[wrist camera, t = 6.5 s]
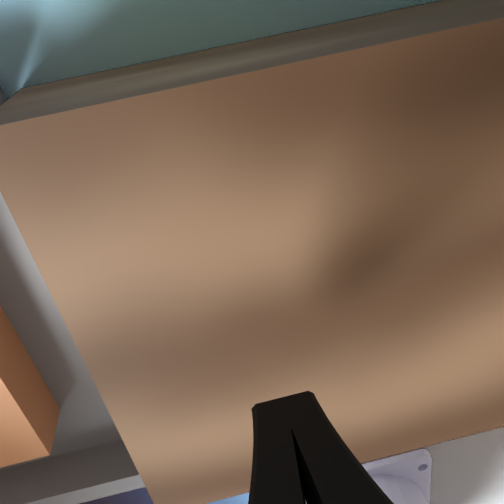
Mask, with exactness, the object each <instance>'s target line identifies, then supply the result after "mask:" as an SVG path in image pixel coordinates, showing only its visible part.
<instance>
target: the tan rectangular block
mask: <svg viewBox="0 0 504 504" xmlns="http://www.w3.org/2000/svg"><path fill="white" fill-rule="evenodd" d="M59 414H60V408H59V406H58V405H57V403H56V401H55V399H54V398H53V396H52V394H51V392H50V391H49V389H48V387H47V385H46V384H45V382H44V380H43V379H42V377H41V375H40V373H39V372H38V370H37V368H36V366H35V365H34V363H33V361H32V359H31V358H30V356H29V354H28V353H27V351H26V349H25V347H24V346H23V344H22V342H21V340H20V339H19V337H18V335H17V333H16V332H15V330H14V328H13V326H12V325H11V323H10V321H9V320H8V318H7V316H6V314H5V313H4V311H3V309H2V307H1V306H0V468H1V467H5V466H9V465H13V464H17V463H21V462H25V461H29V460H33V459H37V458H41V457H45V456H49V455H50V453H51V449H52V444H53V440H54V435H55V431H56V427H57V422H58V418H59Z"/></svg>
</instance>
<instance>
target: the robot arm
mask: <svg viewBox="0 0 504 504" xmlns="http://www.w3.org/2000/svg"><path fill="white" fill-rule="evenodd" d="M252 418H253V459H252V473H251V483H250V493H249V502H248V504H430V487H431V467H432V457H431V455H430V453H429V451H428V450H427V449H418V450H414V451H410V452H406V453H402V454H399V455H395V456H391V457H387V458H383V459H379V460H375V461H371V462H368V463H364V464H361V463H360V462H359V461H358V460H357V458H356V457H355V456H354V455H353V453H352V452H351V451H350V449H349V448H348V446H347V445H346V444H345V442H344V441H343V440H342V438H341V437H340V435H339V434H338V432H337V431H336V430H335V428H334V427H333V425H332V424H331V422H330V421H329V419H328V417H327V416H326V414H325V413H324V411H323V409H322V408H321V406H320V404H319V402H318V401H317V399H316V397H315V395H314V393H312V392H310V391H305V392H301V393H297V394H293V395H289V396H285V397H281V398H277V399H273V400H269V401H265V402H261V403H257V404H255V405H254V406H253V407H252Z"/></svg>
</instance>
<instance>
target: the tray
mask: <svg viewBox="0 0 504 504" xmlns="http://www.w3.org/2000/svg"><path fill="white" fill-rule="evenodd" d="M5 102H6V100H5V97H4V95H3V93H2V90H1V88H0V106H1V105H2V104H3V103H5ZM0 306H1V307H2V309H3V311H4V313H5V314H6V316H7V318H8V320H9V321H10V323H11V325H12V326H13V328H14V330H15V332H16V333H17V335H18V337H19V339H20V340H21V342H22V344H23V346H24V347H25V349H26V351H27V353H28V354H29V356H30V358H31V359H32V361H33V363H34V365H35V366H36V368H37V370H38V372H39V373H40V375H41V377H42V379H43V380H44V382H45V384H46V385H47V387H48V389H49V391H50V392H51V394H52V396H53V398H54V399H55V401H56V403H57V405H58V406H59V408H60V414H59V418H58V422H57V427H56V431H55V435H54V440H53V444H52V449H51V453H50V455H49V456H45V457H41V458H37V459H33V460H29V461H25V462H21V463H17V464H13V465H9V466H5V467H1V468H0V504H80V503H84V502H87V501H91V500H95V499H99V498H103V497H107V496H111V495H115V494H119V493H123V492H127V491H131V490H135V489H139V488H143V487H145V485H144V483H143V481H142V479H141V477H140V475H139V473H138V471H137V468H136V466H135V464H134V462H133V460H132V458H131V456H130V454H129V452H128V450H127V448H126V446H125V444H124V442H123V440H122V438H121V436H120V434H119V432H118V430H117V428H116V426H115V424H114V422H113V420H112V418H111V416H110V414H109V412H108V410H107V408H106V405H105V403H104V401H103V399H102V397H101V395H100V393H99V391H98V389H97V387H96V385H95V383H94V381H93V379H92V377H91V375H90V373H89V371H88V369H87V367H86V365H85V363H84V361H83V359H82V357H81V355H80V353H79V351H78V349H77V347H76V345H75V343H74V340H73V338H72V336H71V334H70V332H69V330H68V328H67V326H66V324H65V322H64V320H63V318H62V316H61V314H60V312H59V310H58V308H57V306H56V304H55V302H54V300H53V298H52V296H51V294H50V292H49V290H48V288H47V286H46V284H45V282H44V280H43V278H42V275H41V273H40V271H39V269H38V267H37V265H36V263H35V261H34V259H33V257H32V255H31V253H30V251H29V249H28V247H27V245H26V243H25V241H24V239H23V237H22V235H21V233H20V231H19V229H18V227H17V225H16V223H15V221H14V219H13V217H12V215H11V213H10V210H9V208H8V206H7V204H6V202H5V200H4V198H3V196H2V194H1V192H0Z"/></svg>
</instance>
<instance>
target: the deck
mask: <svg viewBox="0 0 504 504" xmlns="http://www.w3.org/2000/svg"><path fill="white" fill-rule="evenodd" d="M0 192H1V194H2V196H3V198H4V200H5V202H6V204H7V206H8V208H9V210H10V213H11V215H12V217H13V219H14V221H15V223H16V225H17V227H18V229H19V231H20V233H21V235H22V237H23V239H24V241H25V243H26V245H27V247H28V249H29V251H30V253H31V255H32V257H33V259H34V261H35V263H36V265H37V267H38V269H39V271H40V273H41V275H42V278H43V280H44V282H45V284H46V286H47V288H48V290H49V292H50V294H51V296H52V298H53V300H54V302H55V304H56V306H57V308H58V310H59V312H60V314H61V316H62V318H63V320H64V322H65V324H66V326H67V328H68V330H69V332H70V334H71V336H72V338H73V340H74V343H75V345H76V347H77V349H78V351H79V353H80V355H81V357H82V359H83V361H84V363H85V365H86V367H87V369H88V371H89V373H90V375H91V377H92V379H93V381H94V383H95V385H96V387H97V389H98V391H99V393H100V395H101V397H102V399H103V401H104V403H105V405H106V408H107V410H108V412H109V414H110V416H111V418H112V420H113V422H114V424H115V426H116V428H117V430H118V432H119V434H120V436H121V438H122V440H123V442H124V444H125V446H126V448H127V450H128V452H129V454H130V456H131V458H132V460H133V462H134V464H135V466H136V468H137V471H138V473H139V475H140V477H141V479H142V481H143V483H144V485H145V487H146V489H147V491H148V493H149V495H150V497H151V499H152V501H153V503H154V504H206V503H209V502H213V501H217V500H221V499H225V498H229V497H233V496H237V495H240V494H244V493H248V492H250V483H251V473H252V459H253V418H252V407H253V406H254V405H255V404H257V403H261V402H265V401H269V400H273V399H277V398H281V397H285V396H289V395H293V394H297V393H301V392H305V391H310V392H312V393H314V395H315V397H316V399H317V401H318V402H319V404H320V406H321V408H322V409H323V411H324V413H325V414H326V416H327V417H328V419H329V421H330V422H331V424H332V425H333V427H334V428H335V430H336V431H337V432H338V434H339V435H340V437H341V438H342V440H343V441H344V442H345V444H346V445H347V446H348V448H349V449H350V451H351V452H352V453H353V455H354V456H355V457H356V458H357V460H358V461H359V462H360V463H365V462H369V461H372V460H376V459H380V458H384V457H388V456H392V455H396V454H400V453H403V452H407V451H411V450H415V449H419V448H423V447H427V446H431V445H435V444H438V443H442V442H446V441H450V440H454V439H458V438H462V437H466V436H469V435H473V434H477V433H481V432H485V431H489V430H493V429H497V428H500V427H504V0H441V1H436V2H431V3H427V4H422V5H417V6H412V7H407V8H403V9H398V10H393V11H388V12H384V13H379V14H374V15H369V16H365V17H360V18H355V19H350V20H346V21H341V22H336V23H331V24H326V25H322V26H317V27H312V28H307V29H303V30H298V31H293V32H288V33H284V34H279V35H274V36H269V37H264V38H260V39H255V40H250V41H245V42H241V43H236V44H231V45H226V46H222V47H217V48H212V49H207V50H203V51H198V52H193V53H188V54H183V55H179V56H174V57H169V58H164V59H160V60H155V61H150V62H145V63H141V64H136V65H131V66H126V67H121V68H117V69H112V70H107V71H102V72H98V73H93V74H88V75H83V76H79V77H74V78H69V79H64V80H60V81H55V82H50V83H45V84H40V85H36V86H31V87H26V88H21V89H20V90H19V91H17V92H16V93H15V94H14V95H13V96H12V97H10V98H9V99H8V100H7V101H6V102H5V103H3V104H2V105H1V106H0Z"/></svg>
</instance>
